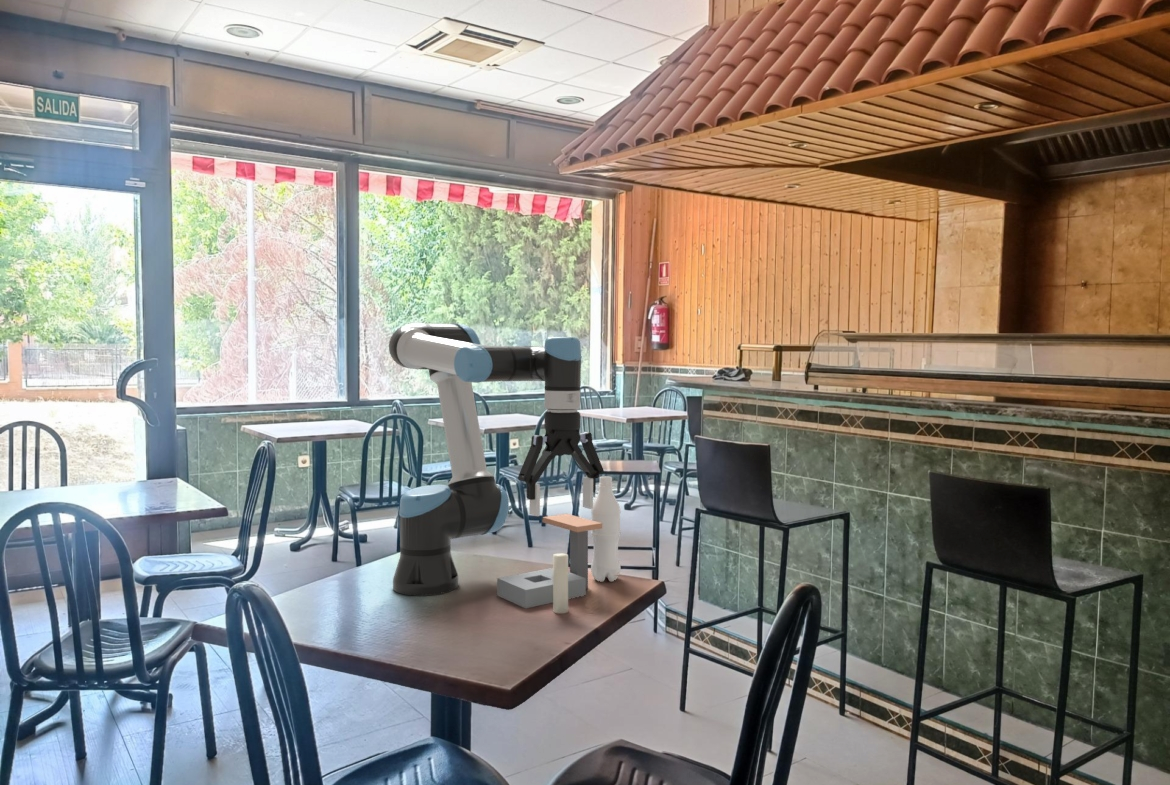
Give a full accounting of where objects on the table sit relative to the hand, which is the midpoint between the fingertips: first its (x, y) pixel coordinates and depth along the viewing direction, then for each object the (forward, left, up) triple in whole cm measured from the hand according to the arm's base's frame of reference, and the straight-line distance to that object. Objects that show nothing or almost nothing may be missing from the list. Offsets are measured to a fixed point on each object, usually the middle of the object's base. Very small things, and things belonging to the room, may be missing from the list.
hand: (561, 511), depth 171 cm
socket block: (-13, +3, -21) cm, 25 cm away
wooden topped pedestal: (-13, +12, -21) cm, 28 cm away
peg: (-1, 0, -21) cm, 22 cm away
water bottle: (-15, +23, -22) cm, 35 cm away
